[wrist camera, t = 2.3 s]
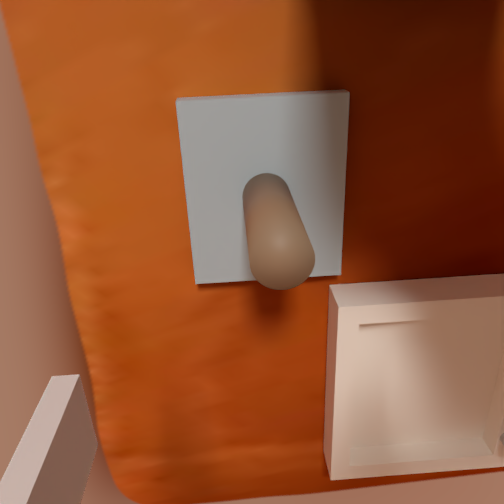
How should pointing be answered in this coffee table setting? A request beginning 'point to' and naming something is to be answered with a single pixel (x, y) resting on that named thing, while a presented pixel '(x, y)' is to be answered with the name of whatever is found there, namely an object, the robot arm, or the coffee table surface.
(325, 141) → the grey panel with handle
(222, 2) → the coffee table surface
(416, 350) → the frame
